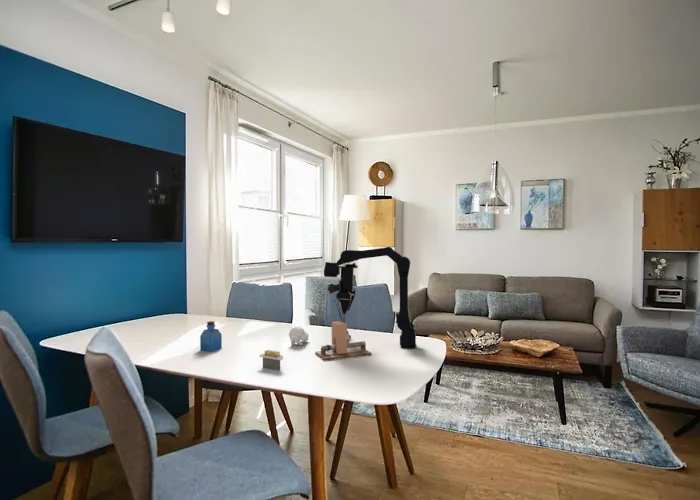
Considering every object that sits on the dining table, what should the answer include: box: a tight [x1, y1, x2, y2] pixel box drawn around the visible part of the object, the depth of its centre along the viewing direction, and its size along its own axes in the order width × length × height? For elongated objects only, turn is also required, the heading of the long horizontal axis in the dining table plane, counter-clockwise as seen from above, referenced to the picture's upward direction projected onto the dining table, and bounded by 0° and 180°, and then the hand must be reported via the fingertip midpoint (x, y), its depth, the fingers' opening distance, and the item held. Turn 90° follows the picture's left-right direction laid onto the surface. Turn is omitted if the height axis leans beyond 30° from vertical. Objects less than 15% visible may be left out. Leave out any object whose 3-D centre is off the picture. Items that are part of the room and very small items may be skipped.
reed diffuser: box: [334, 299, 352, 341], centre depth 197 cm, size 10×7×20 cm
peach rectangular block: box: [331, 320, 348, 354], centre depth 173 cm, size 4×7×12 cm, turn 24°
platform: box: [259, 349, 284, 371], centre depth 156 cm, size 12×18×7 cm, turn 62°
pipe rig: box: [314, 340, 372, 362], centre depth 174 cm, size 20×11×5 cm, turn 114°
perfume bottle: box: [199, 320, 223, 353], centre depth 183 cm, size 6×6×12 cm
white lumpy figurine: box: [288, 325, 309, 346], centre depth 193 cm, size 6×8×12 cm
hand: (346, 312), depth 190 cm, fingers open, 9 cm apart
